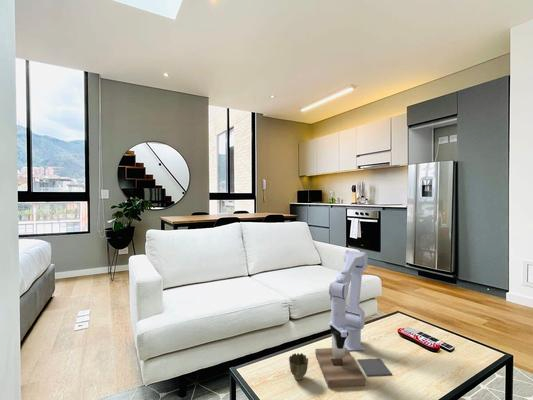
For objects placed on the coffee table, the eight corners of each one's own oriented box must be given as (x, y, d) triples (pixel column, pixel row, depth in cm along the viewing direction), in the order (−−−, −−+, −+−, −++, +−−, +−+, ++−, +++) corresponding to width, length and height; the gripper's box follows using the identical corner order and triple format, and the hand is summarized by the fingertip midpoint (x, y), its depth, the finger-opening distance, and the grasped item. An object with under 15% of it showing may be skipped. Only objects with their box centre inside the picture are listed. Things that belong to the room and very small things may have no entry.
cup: (285, 374, 112) (285, 355, 112) (302, 370, 115) (302, 351, 115) (294, 387, 105) (294, 366, 105) (311, 382, 108) (311, 361, 108)
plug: (331, 352, 117) (331, 333, 116) (341, 352, 117) (341, 333, 117) (334, 358, 113) (334, 339, 112) (344, 358, 113) (344, 338, 113)
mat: (357, 360, 121) (357, 359, 121) (380, 359, 122) (380, 358, 122) (367, 376, 111) (367, 375, 111) (391, 375, 112) (391, 373, 112)
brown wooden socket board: (315, 355, 125) (315, 348, 125) (346, 353, 126) (346, 347, 126) (328, 387, 105) (328, 380, 105) (364, 385, 106) (365, 378, 106)
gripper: (323, 304, 121) (323, 335, 122) (334, 321, 106) (334, 356, 107) (340, 304, 121) (339, 335, 122) (352, 320, 107) (352, 355, 108)
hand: (338, 344), depth 115 cm, fingers closed on plug, 4 cm apart
